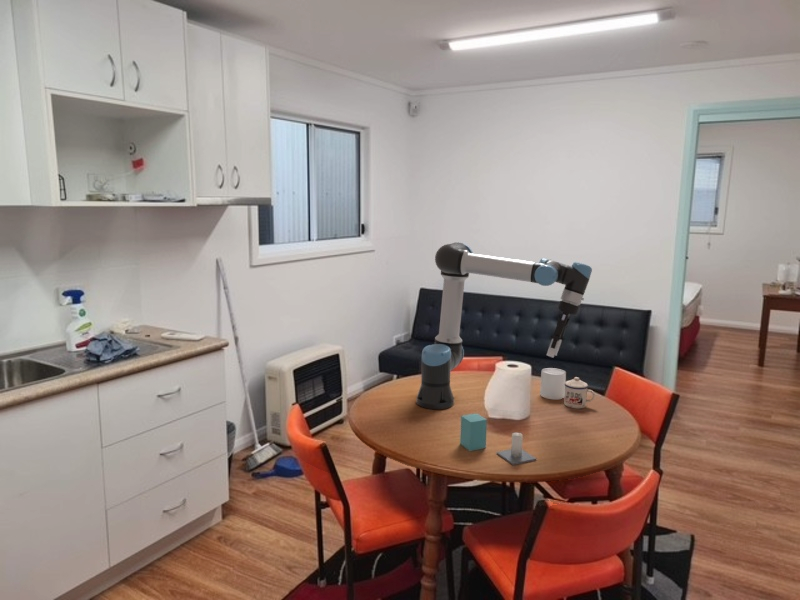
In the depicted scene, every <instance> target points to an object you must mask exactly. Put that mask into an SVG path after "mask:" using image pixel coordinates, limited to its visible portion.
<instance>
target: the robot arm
mask: <svg viewBox="0 0 800 600" xmlns="http://www.w3.org/2000/svg"><path fill="white" fill-rule="evenodd" d="M434 262H435V265H436V266H437V268H438V270H439V271H440V275H441V277H442V278H443V287H442V295H441V296H442V297H441V307H440V319H439V320H440V321H439V329H438V334H437V335H436V336H435V337H434V344H429V345H426V346H425V347H423V349H422V352H421V357H420V358H421V375H420V376H421V382H420V383H421V384H420V387H419V390H418V392H417V396H416V404H417V405H418V406H419V407H421V408H424V409H429V410H446V409H449V408H451V407H453V406H454V403H455V398H454V394H453V392H452V388H451V372H452V371H453V370H455V369H456V368H458V366H459V365H460V364H461V363H462V361H463V360H464V357H465V349H464V346H463V339H462V338H461V336H460V331H461V322H462V311H463V300H464V290H465V281H466V280H467V279H468V278H469V275H470V274H473V275H481V276H487V277H492V278H493V277H494V278H499V279H500V278H502V279H507V280H514V281H521V282H529V283H533V284H538V285H541V286H544V287H548V286H552V285H554V284H555V283H558V284H561V285H563V286H564V288H563V291H562V293H561V296H560V299H561V300H560V301H559V302H558V305H557V308H556V309H557V310H558V311H560V312H562V313H560V315H559V317H558V319H557V323H556V326H555V330H554V332H553V334H552V335H550V339H551V341H550V343H549V345H548V349H547V352H546V356H548V357H549V358H554V357H555V356H558V352H559V350H560V348H561V344H562V341H564V340H565V332H566V330H567V328H568V326H569V324H570V321H571V319H570V318H571V316H572V315H573V316H577V315H578V312H579V309H580V307H579V306H580V305H581V304H582V301H584V300H585V298H584V295H585V293H586V290H587V287H588V284H589V282H590V278H591V275H592V273H593V268H592V266H590V265H588V264H585V263H582V262H581V263H580V262H577V261H573V263H572V265H568V264H564V263H562V262H558V261H555V260H552V259H548V258H545V257H544V258H540V260H539V262H535V261H528V260H523V259H515V258H513V259H512V258H506V257H498V256H492V255H487V254H486V255H485V254H479V253H474V252H473V250H472V249H471V247H470V246H469V245H467V244H466V243H463V242H452V243H447V244H444V245H442V246H440V247H439V248H438V249H437V251H436V252H435V258H434ZM570 315H571V316H570Z"/></svg>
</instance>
